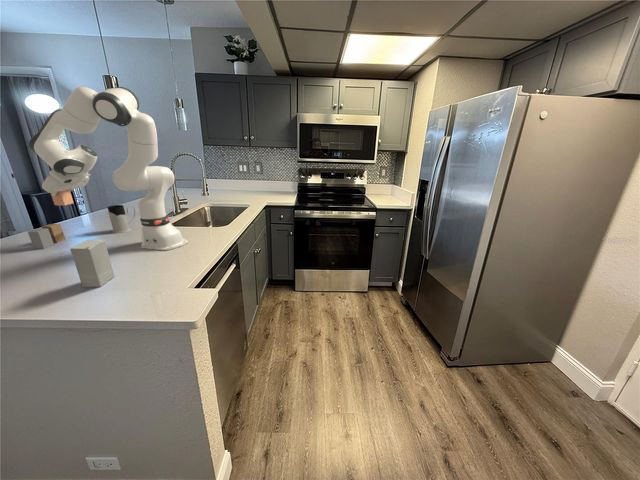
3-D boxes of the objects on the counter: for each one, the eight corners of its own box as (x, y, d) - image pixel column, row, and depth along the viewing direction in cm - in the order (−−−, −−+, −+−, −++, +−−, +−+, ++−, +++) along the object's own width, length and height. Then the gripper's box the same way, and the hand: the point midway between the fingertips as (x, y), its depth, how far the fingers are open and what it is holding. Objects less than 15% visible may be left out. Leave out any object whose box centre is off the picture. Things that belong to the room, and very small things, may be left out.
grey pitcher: (109, 231, 153) (102, 207, 148) (135, 225, 165) (129, 202, 160) (117, 234, 149) (110, 208, 144) (143, 227, 161) (137, 204, 156)
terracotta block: (73, 203, 133) (68, 185, 130) (64, 205, 128) (58, 187, 125) (64, 203, 133) (58, 185, 130) (54, 205, 128) (48, 186, 125)
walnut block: (65, 239, 139) (60, 223, 136) (56, 243, 135) (50, 226, 132) (56, 239, 139) (50, 223, 136) (47, 243, 135) (41, 226, 132)
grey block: (54, 245, 132) (48, 228, 129) (44, 248, 127) (37, 231, 124) (44, 245, 132) (38, 228, 129) (34, 248, 127) (27, 231, 124)
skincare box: (97, 277, 101) (85, 239, 95) (117, 276, 101) (106, 238, 96) (80, 288, 93) (66, 247, 87) (102, 287, 93) (89, 247, 88)
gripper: (85, 167, 134) (72, 186, 138) (46, 171, 115) (32, 192, 118) (96, 176, 136) (83, 194, 139) (59, 181, 116) (45, 202, 120)
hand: (59, 194), depth 128 cm, fingers closed on terracotta block, 5 cm apart
